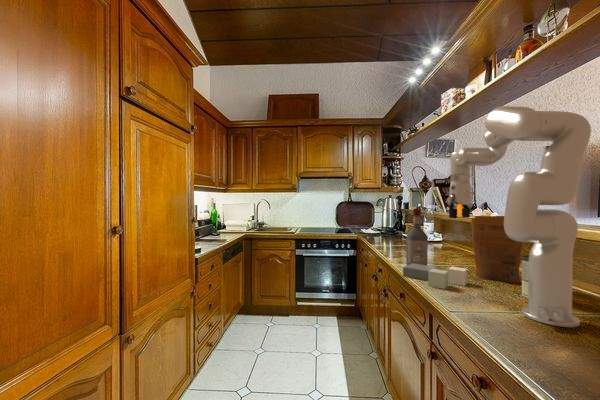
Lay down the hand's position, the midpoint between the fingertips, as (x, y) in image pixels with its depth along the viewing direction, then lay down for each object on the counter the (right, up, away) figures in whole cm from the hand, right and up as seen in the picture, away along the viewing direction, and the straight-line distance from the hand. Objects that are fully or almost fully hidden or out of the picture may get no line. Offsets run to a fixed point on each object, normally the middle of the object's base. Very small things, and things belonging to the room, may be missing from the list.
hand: (459, 217), depth 125 cm
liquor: (-11, -27, +20) cm, 35 cm away
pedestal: (-16, -27, +3) cm, 31 cm away
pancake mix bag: (+15, -27, -2) cm, 31 cm away
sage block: (-15, -27, -12) cm, 33 cm away
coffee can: (+14, -27, -25) cm, 39 cm away
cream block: (-5, -27, -8) cm, 28 cm away
